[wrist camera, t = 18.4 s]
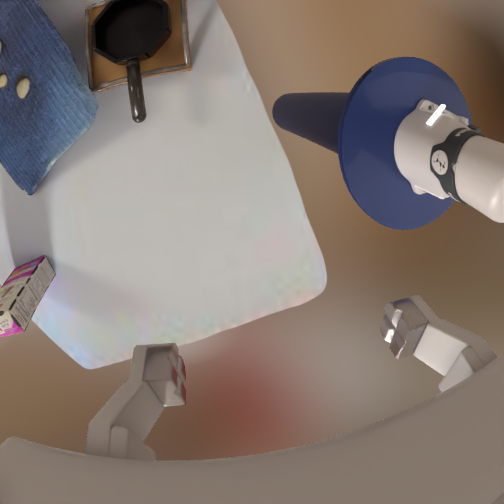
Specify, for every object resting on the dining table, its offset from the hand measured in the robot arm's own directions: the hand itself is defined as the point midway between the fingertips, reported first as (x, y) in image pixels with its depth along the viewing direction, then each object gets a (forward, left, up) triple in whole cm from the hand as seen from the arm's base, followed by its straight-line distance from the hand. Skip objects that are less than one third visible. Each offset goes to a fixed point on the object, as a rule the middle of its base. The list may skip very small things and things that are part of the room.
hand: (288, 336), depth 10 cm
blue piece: (+34, -25, -36) cm, 55 cm away
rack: (+10, -20, -35) cm, 42 cm away
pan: (+11, -16, -31) cm, 37 cm away
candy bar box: (+42, +15, -35) cm, 57 cm away
